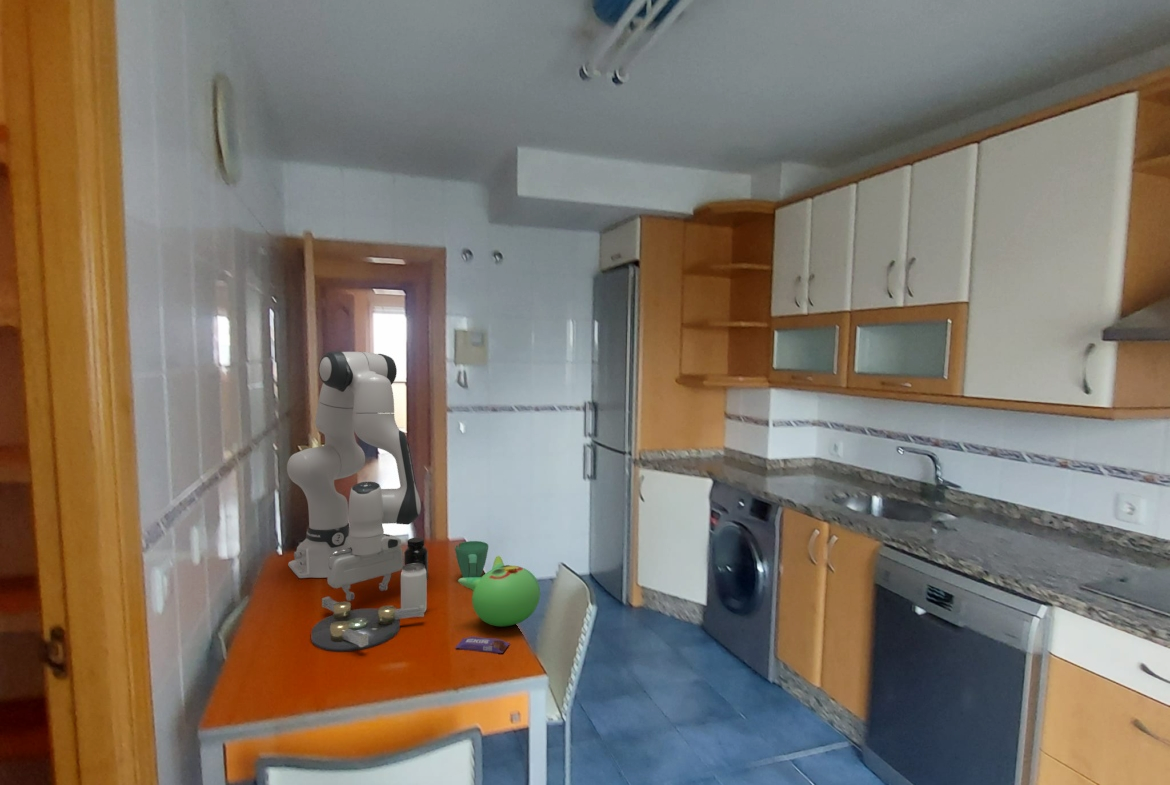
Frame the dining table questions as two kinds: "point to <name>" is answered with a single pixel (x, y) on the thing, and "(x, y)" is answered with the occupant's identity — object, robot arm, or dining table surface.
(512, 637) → the dining table surface
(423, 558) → the supplement bottle
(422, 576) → the can
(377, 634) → the levelling plate
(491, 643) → the snack package
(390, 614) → the left knob
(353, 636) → the front knob
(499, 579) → the toy bird
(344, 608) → the back knob
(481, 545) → the mug
